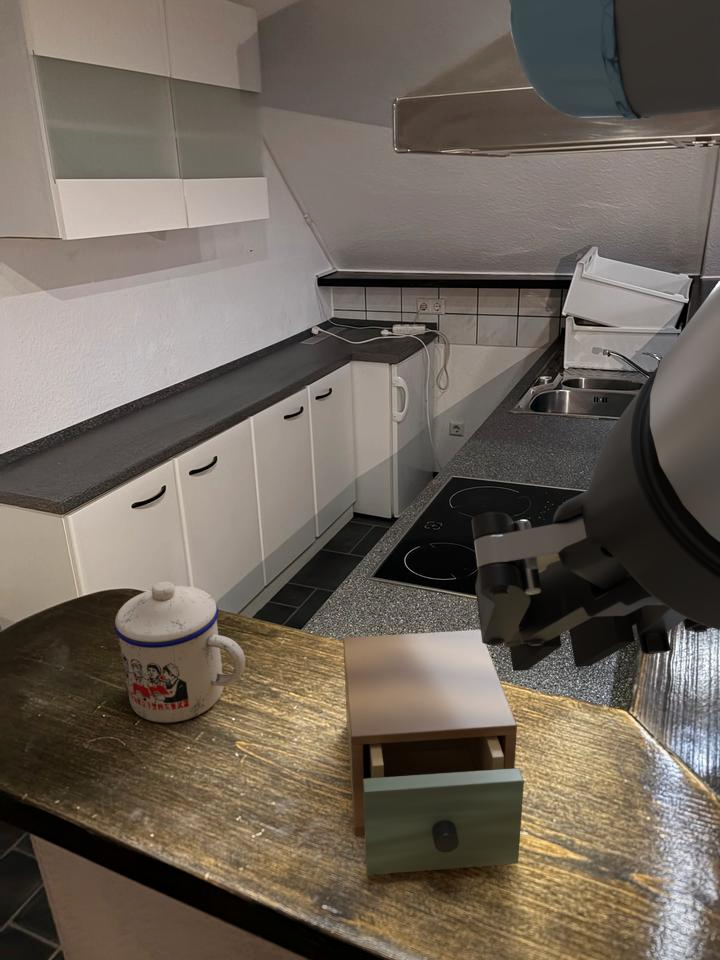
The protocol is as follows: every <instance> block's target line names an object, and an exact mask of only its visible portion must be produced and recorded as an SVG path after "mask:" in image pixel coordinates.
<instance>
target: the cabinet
mask: <svg viewBox="0 0 720 960" xmlns="http://www.w3.org/2000/svg"><path fill="white" fill-rule="evenodd" d="M342 641H343V643H342V644H343V664H344V665H343V667H344V690H345V691H344V692H345V715H346V716H345V717H346V718H345V719H346V732H347V733H346V735H347V747H348V762H349V774H350V775H349V776H350V791H351V803H352V816H353V817H352V818H353V829H354V836H356V837H357V836H365V827H364V795H363V779H367V778H368V776H367V766H366V755H365V744H377V743H392V742H407V741H422V740H437V739H453V738H468V737H483V736H497V738H498V741H499V744H500V747H501V749H502V752H503V755H504V765H503V769H514V768H516V767H515V765H516V751H517V733H518V724H517V722H516V718H515V716H514V714H513V710H512V709H511V705H510V703H509V701H508V698H507V695H506V693H505V690H504V688H503V684H502V682H501V679H500V677H499V674H498V671H497V669H496V666H495V664H494V661H493V658H492V656H491V654H490V651H489V649H488V648H489V647H488V645H487V644H485V643H482V636H481V629H467V630H452V631H451V630H449V631H434V632H433V631H431V632H417V633H401V634H399V633H398V634H383V635H365V636H350V637H343V639H342Z"/></svg>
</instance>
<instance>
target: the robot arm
mask: <svg viewBox="0 0 720 960" xmlns="http://www.w3.org/2000/svg"><path fill="white" fill-rule="evenodd" d="M509 5H510V14H509V21H508V22H509V28H510V29H509V30H510V33H511V39H512V43H513V47H514V50H515V54H516V57H517V60H518V62H519V65H520V67H521V69H522V71H523V74H524V77H526V79H527V81H528V83H529V84H530V86H531V88H532V89H533V90H534V92H535V93H536V94H537V95H538V96H539V97H540V98H541V99H542V100H543V101H544V102H545V103H546V104H547V105H549V106H550V107H552V108H553V109H555V110H556V111H558V112H559V113H562V114H564V115H566V116H569V117H574V118H579V119H580V118H583V119H585V118H586V119H587V118H624V119H625V121H636V120H641V119H648V118H651V117H657V116H668V115H678V114H689V113H699V112H709V111H718V110H720V0H509ZM612 426H613V427H611V429H610V431H609V432H608V435H607V437H606V439H605V441H604V443H603V445H602V447H601V450H600V453H599V456H598V458H597V462H596V465H595V467H594V471H593V474H592V478H591V480H590V484H589V487H588V489H587V490H585V491H584V492H582V493H580V494H578V495H576V496H574V497H572V498H569V499H567V500H566V501H564V502H563V503H562V504H560V505H559V507H557V509H556V511H555V513H554V515H553V519H552V524H547V525H542V526H536V527H532V524H531V521H529V520H528V519H519V520H516V521H514V520H513V519H512V518H511V517H510V516H509V514H507V513H505V512H501V511H486V512H483V513H481V514H477V515H475V516H473V517H472V518H471V529H472V535H473V545H474V546H473V547H474V553H475V560H476V569H477V577H476V581H475V586H474V588H475V596H476V604H477V605H476V606H477V612H478V613H477V614H478V620H479V627H480V630H481V636H482V643H485V644H486V645H487V646H492V647H497V646H504V647H505V648H509V652H510V658H511V668H512V671H513V672H519V671H521V672H522V671H528V670H530V669H531V668H533V667H534V666H536V665H537V664H538V663H540V662H541V661H543V660H544V659H545V658H547V657H548V656H549V655H551V654H552V653H554V652H555V651H557V650H558V649H560V648H561V647H562V640H561V635H562V634H564V633H566V632H568V631H569V637H570V643H571V650H572V656H573V661H574V667H575V668H584V667H585V668H587V667H591V666H593V665H595V664H596V663H599V662H600V661H603V660H604V659H606V658H608V657H609V656H611V655H613V654H616V653H617V652H618V651H620V650H622V649H625V648H626V647H628V646H629V645H631V644H633V643H635V642H636V639H635V638H637V637H638V641H639V646H640V651H641V654H642V655H656V654H663V653H667V652H670V651H672V648H671V644H670V640H669V635H668V633H669V632H670V631H671V630H673V629H674V628H676V627H677V626H678V625H680V624H681V623H683V627H684V631H686V632H694V634H697V633H698V634H699V633H706V632H707V631H708V630H709V629H715V630H718V631H720V280H719V281H718V282H717V284H716V285H715V287H714V288H713V289H712V290H711V291H710V293H709V295H708V296H707V297H706V298H705V300H704V301H703V302H702V303H701V305H700V306H699V308H698V309H697V311H696V312H695V313H694V315H693V316H692V317H691V319H690V320H689V321H688V323H687V324H686V325H685V326H684V328H683V329H682V330H681V332H680V333H679V334H678V335H677V337H676V339H675V340H674V341H673V343H672V344H671V345H670V346H669V348H668V349H667V351H666V352H665V353H664V354H663V356H662V357H661V359H660V361H659V364H658V366H656V368H655V369H654V370H653V372H651V374H650V375H649V377H648V378H647V380H645V382H644V383H643V384H642V386H641V388H640V389H639V390H638V392H637V393H636V395H635V396H634V397H633V399H632V400H631V402H630V403H629V404H628V405H627V407H626V409H625V410H624V411H623V413H622V414H621V415H620V416H619V418H618V419H617V420H616V422H615V423H614V425H612Z"/></svg>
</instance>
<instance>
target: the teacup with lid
mask: <svg viewBox="0 0 720 960" xmlns="http://www.w3.org/2000/svg"><path fill="white" fill-rule="evenodd" d="M218 617H219V608H218V605H217V603H216V600H215V599H214V598H213V597H212V595H210V593H208V592H207V591H204V590H202V589H200V588H197V587H192V586H186V585H175V584H173V583H172V582H170V581H167V580H165V581H159V582H157V583H155V584H154V585H152V587H151V589H149V590H145V591H143V592H142V593H139V594H137V595H136V596H134V597H132V598H130V599H129V600H128V601H126V602H125V603H124V604H123V605H122V606H121V607H120V608H119V610H118V611H117V613H116V615H115V620H114V625H113V627H114V628H113V629H114V632H115V634H116V636H117V637H118V639H119V646H120V652H121V657H122V663H123V668H124V669H123V670H124V675H125V682H126V687H127V693H128V699H129V704H130V705H131V706H130V707H131V709H132V710H133V711H134V712H135V713H136V714H137V716H139V717H141V718H143V719H144V720H148V721H151V722H155V723H164V724H165V723H178V722H183V721H186V720H190V719H192V718H195V717H198V716H199V715H201V714H203V713H205V712H206V711H208V710H209V709H211V708H213V706H214V705H215V704H216V703H217V702H218V701H219V699H220V698H221V696H222V694H223V692H224V687H229V686H233V685H234V684H235V683H237V682H238V680H239V679H240V678H241V677H242V675H243V674H244V672H245V668H246V656H245V653H244V651H243V649H242V647H241V646H240V645H239V644H238V643H237V641H235V640H233V639H232V638H230V637H227V636H224V635H220V634H219V629H218V620H217V619H218ZM221 650H223V651H225V652H226V653H227V654H228V655H229V656H230V657H231V659H232V662H233V673H230V674H229V673H228V674H226V673H225V674H224V673H223V664H222V656H221V655H222V654H221Z"/></svg>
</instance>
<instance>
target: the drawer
mask: <svg viewBox="0 0 720 960" xmlns="http://www.w3.org/2000/svg"><path fill="white" fill-rule="evenodd" d="M365 755H366V766H367V776H368V778H367V779H363V795H364V827H365V835H364V849H365V850H364V855H365V869H366V875H368V876H369V875H382V874H384V875H385V874H396V873H397V874H398V873H409V872H411V873H412V872H423V871H436V870H437V871H438V870H449V869H452V870H453V869H463V868H465V869H466V868H476V867H477V868H478V867H490V866H503V865H505V866H506V865H517V864H519V857H520V843H521V842H520V841H521V828H522V816H523V815H522V814H523V801H524V800H523V799H524V786H525V785H524V784H525V780H524V777H523V774H522V772H521V769H520V768H519V767H515V768H514V769H503V765H504V755H503V752H502V749H501V747H500V744H499V741H498V738H497V736H483V737H468V738H453V739H437V740H422V741H407V742H392V743H377V744H365Z"/></svg>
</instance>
